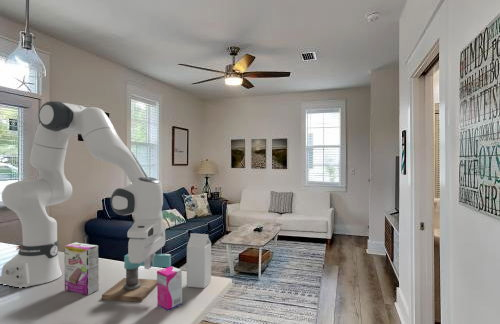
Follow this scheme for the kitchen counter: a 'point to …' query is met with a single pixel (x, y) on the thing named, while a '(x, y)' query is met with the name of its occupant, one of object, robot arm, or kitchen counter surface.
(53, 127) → the robot arm
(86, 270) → the candy bar box
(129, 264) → the teal lever handle
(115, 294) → the tan square panel
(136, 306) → the kitchen counter surface
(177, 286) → the supplement box
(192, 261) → the milk carton
